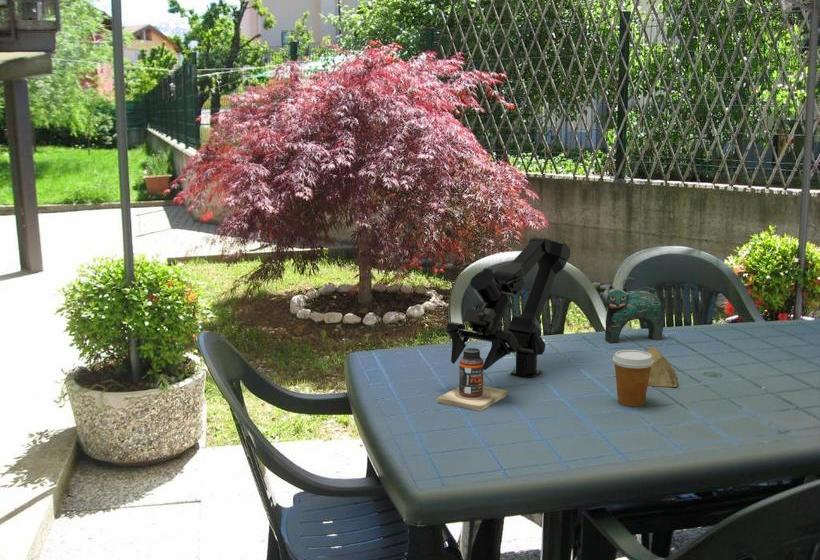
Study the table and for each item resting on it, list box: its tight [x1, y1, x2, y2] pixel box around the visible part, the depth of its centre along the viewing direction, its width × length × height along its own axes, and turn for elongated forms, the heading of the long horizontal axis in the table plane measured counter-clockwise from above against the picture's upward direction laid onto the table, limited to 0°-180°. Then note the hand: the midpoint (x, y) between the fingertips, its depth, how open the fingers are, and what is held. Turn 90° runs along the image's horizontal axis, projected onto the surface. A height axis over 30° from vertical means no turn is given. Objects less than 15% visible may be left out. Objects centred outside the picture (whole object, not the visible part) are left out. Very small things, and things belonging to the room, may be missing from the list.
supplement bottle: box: [458, 347, 485, 397], centre depth 213 cm, size 6×6×11 cm
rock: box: [646, 346, 679, 388], centre depth 224 cm, size 10×8×10 cm
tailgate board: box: [436, 385, 509, 412], centre depth 215 cm, size 15×12×1 cm
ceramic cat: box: [602, 277, 666, 344], centre depth 267 cm, size 20×6×20 cm, turn 102°
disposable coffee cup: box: [612, 349, 653, 407], centre depth 210 cm, size 10×10×12 cm
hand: (467, 365), depth 211 cm, fingers open, 9 cm apart
